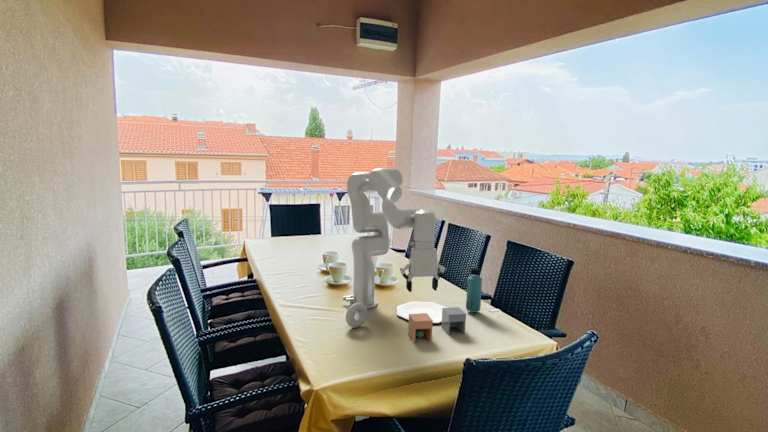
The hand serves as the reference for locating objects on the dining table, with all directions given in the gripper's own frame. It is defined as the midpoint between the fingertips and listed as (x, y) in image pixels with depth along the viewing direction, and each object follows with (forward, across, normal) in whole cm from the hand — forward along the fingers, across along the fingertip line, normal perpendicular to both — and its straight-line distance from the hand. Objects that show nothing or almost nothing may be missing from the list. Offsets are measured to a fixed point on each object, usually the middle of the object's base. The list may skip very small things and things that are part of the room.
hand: (421, 290), depth 148 cm
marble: (+18, 0, 0) cm, 19 cm away
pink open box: (+18, 0, 0) cm, 19 cm away
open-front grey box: (+18, +15, +4) cm, 24 cm away
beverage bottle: (+19, +31, +20) cm, 41 cm away
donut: (+19, -22, +13) cm, 32 cm away
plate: (+19, +9, +22) cm, 30 cm away
